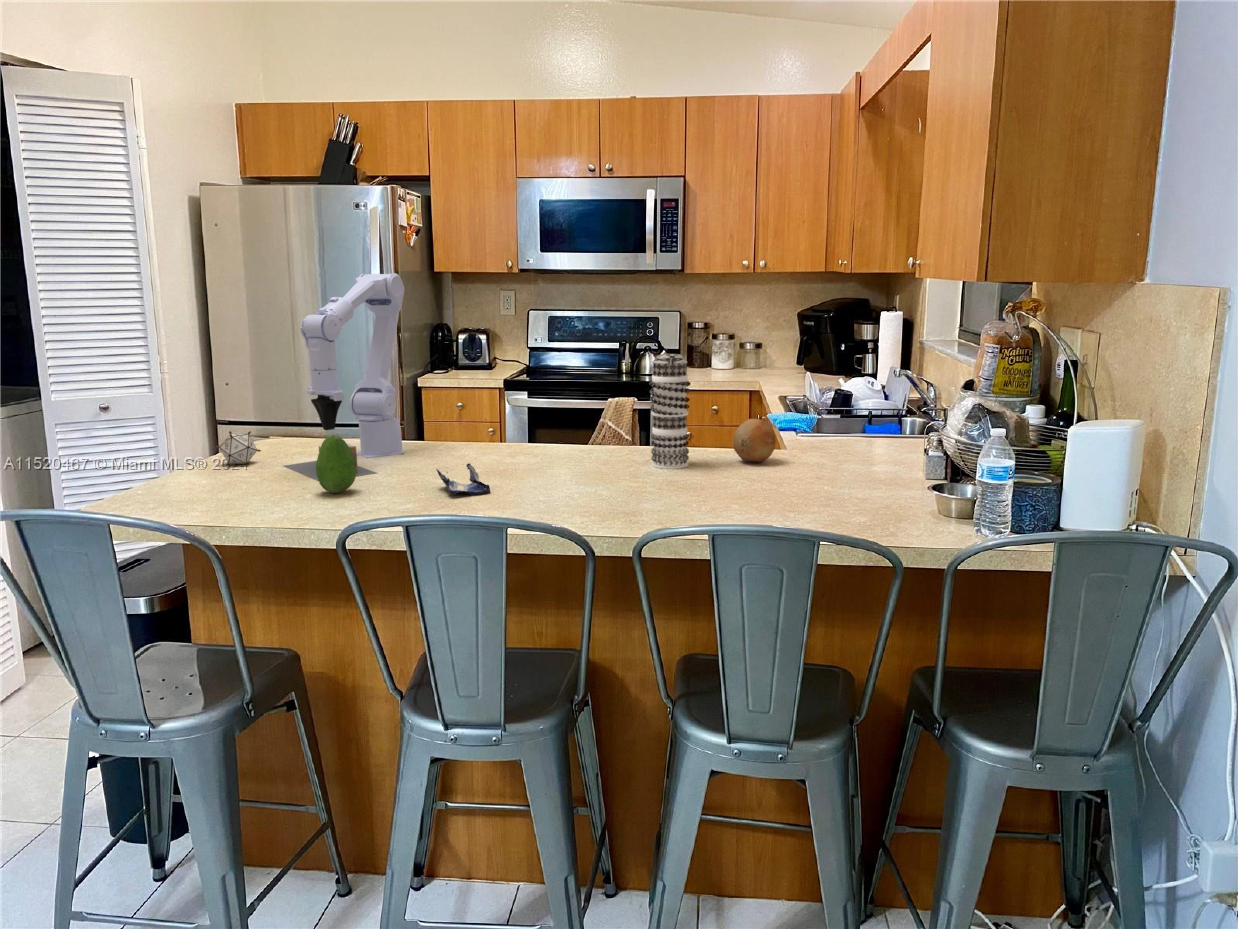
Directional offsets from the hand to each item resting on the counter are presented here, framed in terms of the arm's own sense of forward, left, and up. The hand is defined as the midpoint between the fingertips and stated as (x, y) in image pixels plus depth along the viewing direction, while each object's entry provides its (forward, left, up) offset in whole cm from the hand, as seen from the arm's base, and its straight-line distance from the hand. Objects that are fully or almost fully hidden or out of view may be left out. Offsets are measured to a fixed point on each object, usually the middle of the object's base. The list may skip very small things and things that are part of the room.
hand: (329, 429), depth 204 cm
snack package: (-11, +38, -10) cm, 41 cm away
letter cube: (+1, +6, -3) cm, 7 cm away
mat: (+1, +1, -9) cm, 9 cm away
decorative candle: (-59, +49, -10) cm, 77 cm away
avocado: (+8, +22, -10) cm, 26 cm away
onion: (-75, +60, -10) cm, 97 cm away
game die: (+14, -20, -10) cm, 26 cm away
